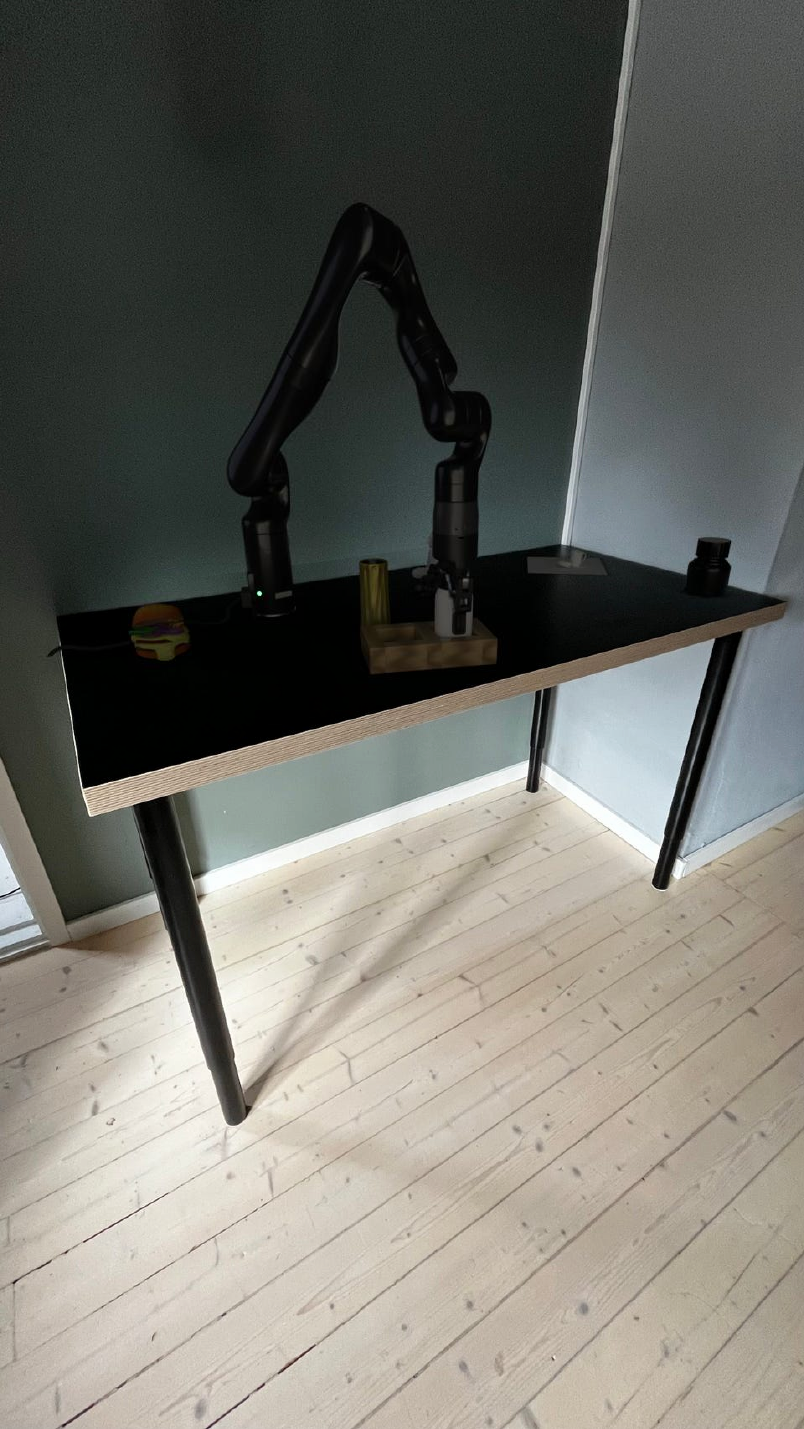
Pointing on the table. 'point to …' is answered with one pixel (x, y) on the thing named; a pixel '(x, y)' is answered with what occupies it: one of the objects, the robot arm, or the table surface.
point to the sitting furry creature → (423, 571)
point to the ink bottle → (709, 568)
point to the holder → (424, 647)
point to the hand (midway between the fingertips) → (453, 627)
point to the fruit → (429, 581)
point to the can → (448, 614)
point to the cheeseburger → (159, 632)
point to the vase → (374, 592)
